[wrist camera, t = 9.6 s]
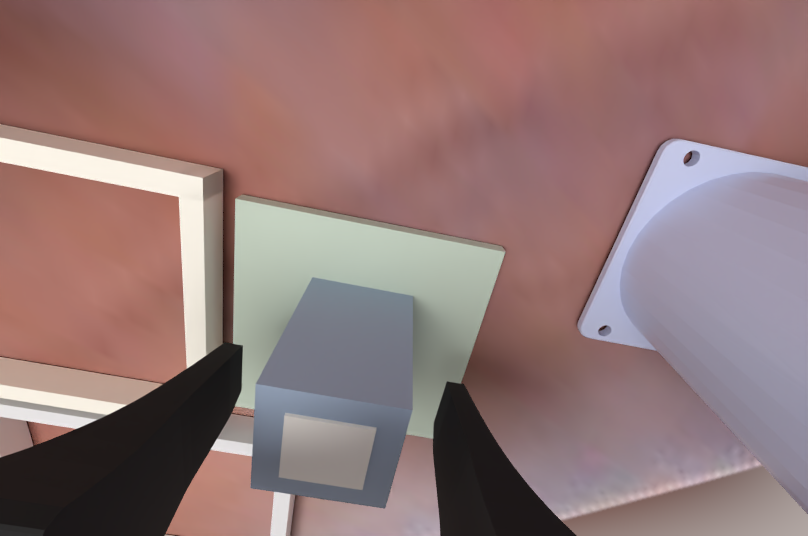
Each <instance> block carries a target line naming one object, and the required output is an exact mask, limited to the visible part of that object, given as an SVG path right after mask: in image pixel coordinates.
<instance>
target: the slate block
mask: <svg viewBox="0 0 808 536" xmlns="http://www.w3.org/2000/svg"><path fill="white" fill-rule="evenodd" d="M412 411H413V296H410V295H405V294H400V293H394V292H389V291H384V290H378V289H373V288H368V287H362V286H357V285H352V284H346V283H341V282H336V281H330V280H325V279H320V278H314V277H312V279H311V281H310V283H309V285H308V286H307V288H306V290H305V292H304V294H303V296H302V298H301V300H300V301H299V303H298V305H297V307H296V309H295V311H294V313H293V315H292V317H291V318H290V320H289V322H288V324H287V326H286V328H285V330H284V332H283V333H282V335H281V337H280V339H279V341H278V343H277V345H276V347H275V349H274V350H273V352H272V354H271V356H270V358H269V360H268V362H267V364H266V365H265V367H264V369H263V371H262V373H261V375H260V377H259V379H258V380H257V382H256V387H255V408H254V429H253V449H252V470H251V488H253V489H260V490H266V491H273V492H280V493H286V494H293V495H299V496H306V497H313V498H319V499H326V500H332V501H339V502H346V503H352V504H359V505H365V506H372V507H379V508H385V507H386V503H387V500H388V496H389V493H390V489H391V486H392V482H393V478H394V475H395V471H396V468H397V464H398V461H399V457H400V453H401V450H402V446H403V443H404V439H405V436H406V432H407V429H408V425H409V421H410V418H411V414H412Z"/></svg>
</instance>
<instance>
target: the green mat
mask: <svg viewBox="0 0 808 536" xmlns="http://www.w3.org/2000/svg"><path fill="white" fill-rule="evenodd" d="M504 255H505V250H504V249H503V247H502V246H499V245H494V244H489V243H484V242H479V241H474V240H469V239H464V238H459V237H454V236H449V235H444V234H439V233H434V232H429V231H424V230H418V229H413V228H408V227H403V226H398V225H393V224H388V223H383V222H378V221H373V220H368V219H363V218H358V217H353V216H348V215H343V214H338V213H333V212H328V211H323V210H318V209H313V208H308V207H303V206H298V205H293V204H288V203H283V202H278V201H273V200H268V199H263V198H258V197H253V196H247V195H240V196H239V197H237V198H236V199H235V254H234V315H233V344H237V345H243V359H242V391H241V393H240V395H239V398H238V400H237V402H236V405H235V406H237V407H243V408H249V409H254V408H255V387H256V382H257V380H258V379H259V377H260V375H261V373H262V371H263V369H264V367H265V365H266V364H267V362H268V360H269V358H270V356H271V354H272V352H273V350H274V349H275V347H276V345H277V343H278V341H279V339H280V337H281V335H282V333H283V332H284V330H285V328H286V326H287V324H288V322H289V320H290V318H291V317H292V315H293V313H294V311H295V309H296V307H297V305H298V303H299V301H300V300H301V298H302V296H303V294H304V292H305V290H306V288H307V286H308V285H309V283H310V281H311V279H312V277H314V278H320V279H325V280H330V281H336V282H341V283H346V284H352V285H357V286H362V287H368V288H373V289H378V290H384V291H389V292H394V293H400V294H405V295H410V296H413V411H412V414H411V418H410V421H409V425H408V429H407V432H406V434H407V435H414V436H420V437H426V438H432V439H433V426H434V420H435V417H436V414H437V411H438V408H439V404H440V401H441V398H442V395H443V392H444V389H445V386H446V382H447V381H448V382H454V383H460V384H461V382H462V379H463V376H464V373H465V370H466V367H467V364H468V361H469V358H470V355H471V352H472V349H473V346H474V343H475V341H476V338H477V335H478V332H479V329H480V326H481V323H482V320H483V317H484V314H485V311H486V308H487V305H488V302H489V299H490V296H491V293H492V290H493V287H494V284H495V282H496V279H497V276H498V273H499V270H500V267H501V264H502V261H503V258H504Z"/></svg>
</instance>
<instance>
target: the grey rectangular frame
mask: <svg viewBox="0 0 808 536" xmlns="http://www.w3.org/2000/svg"><path fill="white" fill-rule="evenodd" d="M104 416H106V415H105V414H98V413H92V412H86V411H80V410H73V409H67V408H61V407H54V406H48V405H42V404H36V403H29V402H23V401H17V400H11V399H4V398H0V457H3V456H6V455H9V454H12V453H15V452H18V451H21V450H24V449H27V448H29V447H32V446H33V443H32V439H31V436H30V432H29V429H28V425H27V422H26V421H30V422H37V423H43V424H49V425H56V426H62V427H69V428H75V429H77V428H80V427H82V426H84V425H86V424H89V423H91V422H93V421H95V420H98V419H100V418H102V417H104ZM253 429H254V417H249V416H242V415H236V414H231V415H230V418H229V419H228V421H227V423H226V425H225V426H224V428H223V430H222V431H221V433H220V435H219V436H218V438H217V440H216V441H215V443H214V445H213V446H212V448H211V450H215V451H221V452H228V453H234V454H241V455H247V456H252V449H253ZM294 500H295V495H293V494H286V493H280V492H274V500H273V512H272V523H271V534H270V536H290V532H291V524H292V516H293V508H294ZM165 536H173V535H166V534H165Z"/></svg>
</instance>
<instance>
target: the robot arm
mask: <svg viewBox="0 0 808 536" xmlns="http://www.w3.org/2000/svg"><path fill="white" fill-rule="evenodd" d="M690 151H692V158H691V159H690V161H689V162H688V163H686V164H684V162H683V159H684V156H685V155H686V154H687V153H688V152H690ZM605 325H607V327H606V328H605V329H604V330H601V331H598V330H599V329H600V327H602V326H605ZM577 327H578V330H579V331H580V333H581V334H582V335H583V336H584V337H587V338H591V339H596V340H602V341H607V342H612V343H618V344H623V345H629V346H634V347H639V348H645V349H650V350H655V351H658V352H659V353H660V354H661V355H662V357H663V358H664V359H665V360H666V361H667V362H668V363H669V364H670V365H671V366H672V367H673V368H674V370H675V371H676V372H677V373H678V374H679V375H680V376H681V377H682V378H683V379H684V380H685V382H686V383H687V384H688V385H689V386H690V387H691V388H692V389H693V390H694V391H695V392H696V393H697V395H698V396H699V397H700V398H701V399H702V400H703V401H704V402H705V403H706V404H707V405H708V406H709V408H710V409H711V410H712V411H713V412H714V413H715V414H716V415H717V416H718V417H719V418H720V420H721V421H722V422H723V423H724V424H725V425H726V426H727V427H728V428H729V429H730V430H731V431H732V433H733V434H734V435H735V436H736V437H737V438H738V439H739V440H740V441H741V442H742V443H743V444H744V446H745V447H746V448H747V449H748V450H749V451H750V452H751V453H752V454H753V455H754V456H755V458H756V459H757V460H758V461H759V462H760V463H761V464H762V465H763V466H764V467H765V468H766V469H767V471H768V472H769V473H770V474H771V475H772V476H773V477H774V478H775V479H776V480H777V481H778V482H779V484H780V485H781V486H782V487H783V488H784V489H785V490H786V491H787V492H788V493H789V494H790V496H791V497H792V498H793V499H794V500H795V501H796V502H797V503H798V504H799V505H800V506H801V507H802V509H803V510H804V511H805V512H806V513H807V514H808V167H803V166H799V165H794V164H790V163H785V162H781V161H776V160H772V159H768V158H763V157H759V156H754V155H750V154H745V153H741V152H736V151H732V150H727V149H723V148H718V147H714V146H709V145H705V144H700V143H696V142H692V141H687V140H682V139H671V140H668V141H666V142H665V143H663V144H662V145H661V146H660V148H659V149H658V151H657V153H656V155H655V157H654V159H653V162H652V164H651V166H650V168H649V170H648V172H647V174H646V177H645V179H644V181H643V183H642V185H641V187H640V190H639V192H638V194H637V196H636V198H635V200H634V202H633V205H632V207H631V209H630V211H629V213H628V215H627V218H626V220H625V222H624V224H623V226H622V228H621V231H620V233H619V235H618V237H617V239H616V241H615V243H614V246H613V248H612V250H611V252H610V254H609V256H608V259H607V261H606V263H605V265H604V267H603V269H602V271H601V274H600V276H599V278H598V280H597V282H596V284H595V287H594V289H593V291H592V293H591V295H590V297H589V299H588V302H587V304H586V306H585V308H584V310H583V312H582V315H581V317H580V319H579V321H578V325H577ZM242 359H243V345H237V344H232V343H226V342H225V343H223V344H222V345H220V346H219V347H217V348H216V349H214V350H213V351H212V352H210V353H209V354H207V355H206V356H205V357H203V358H202V359H200V360H199V361H197V362H196V363H194V364H193V365H192V366H190V367H189V368H187V369H186V370H184V371H183V372H181V373H180V374H178V375H177V376H175V377H174V378H172V379H171V380H169V381H167V382H166V383H164V384H163V385H161V386H159V387H158V388H156V389H154V390H153V391H151V392H149V393H148V394H146V395H144V396H143V397H141V398H139V399H137V400H136V401H134V402H132V403H130V404H128V405H126V406H124V407H122V408H120V409H118V410H116V411H115V412H113V413H111V414H109V415H106V416H104V417H102V418H100V419H98V420H95V421H93V422H91V423H89V424H86V425H84V426H82V427H80V428H77V429H75V430H73V431H71V432H68V433H66V434H64V435H61V436H58V437H56V438H53V439H51V440H48V441H46V442H43V443H40V444H38V445H35V446H32V447H29V448H27V449H24V450H21V451H18V452H15V453H12V454H9V455H6V456H3V457H0V536H165V533H166V531H167V529H168V527H169V525H170V523H171V521H172V519H173V517H174V515H175V512H176V510H177V508H178V506H179V504H180V502H181V500H182V498H183V496H184V494H185V492H186V490H187V488H188V487H189V485H190V483H191V481H192V479H193V478H194V476H195V474H196V473H197V471H198V469H199V468H200V466H201V464H202V463H203V461H204V459H205V458H206V456H207V454H208V453H209V451H210V450H211V448H212V446H213V445H214V443H215V441H216V440H217V438H218V436H219V435H220V433H221V431H222V430H223V428H224V426H225V425H226V423H227V421H228V419H229V418H230V415H231V413H232V411H233V409H234V407H235V405H236V402H237V400H238V398H239V395H240V393H241V391H242ZM433 456H434V467H435V477H436V487H437V497H438V507H439V517H440V536H576V535H575V534H574V533H573V532H572V531H571V530H570V529H569V528H568V527H567V526H566V525H565V524H564V523H563V522H562V521H561V520H560V519H559V518H558V517H557V516H556V515H555V514H554V513H553V512H552V511H551V510H550V509H549V508H548V507H547V506H546V505H545V503H544V502H543V501H542V500H541V499H540V498H539V497H538V496H537V495H536V494H535V492H534V491H533V490H532V489H531V488H530V487H529V485H528V484H527V483H526V482H525V480H524V479H523V478H522V477H521V475H520V474H519V473H518V472H517V470H516V469H515V468H514V466H513V465H512V464H511V462H510V461H509V459H508V458H507V457H506V455H505V454H504V452H503V451H502V449H501V448H500V446H499V445H498V443H497V442H496V440H495V439H494V437H493V435H492V434H491V432H490V430H489V429H488V427H487V425H486V424H485V422H484V420H483V419H482V417H481V415H480V413H479V411H478V410H477V408H476V406H475V404H474V402H473V400H472V398H471V397H470V395H469V393H468V391H467V389H466V387H465V386H464V384H460V383H454V382H448V381H447V382H446V386H445V389H444V392H443V395H442V398H441V401H440V404H439V408H438V411H437V414H436V417H435V420H434V426H433Z"/></svg>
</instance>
